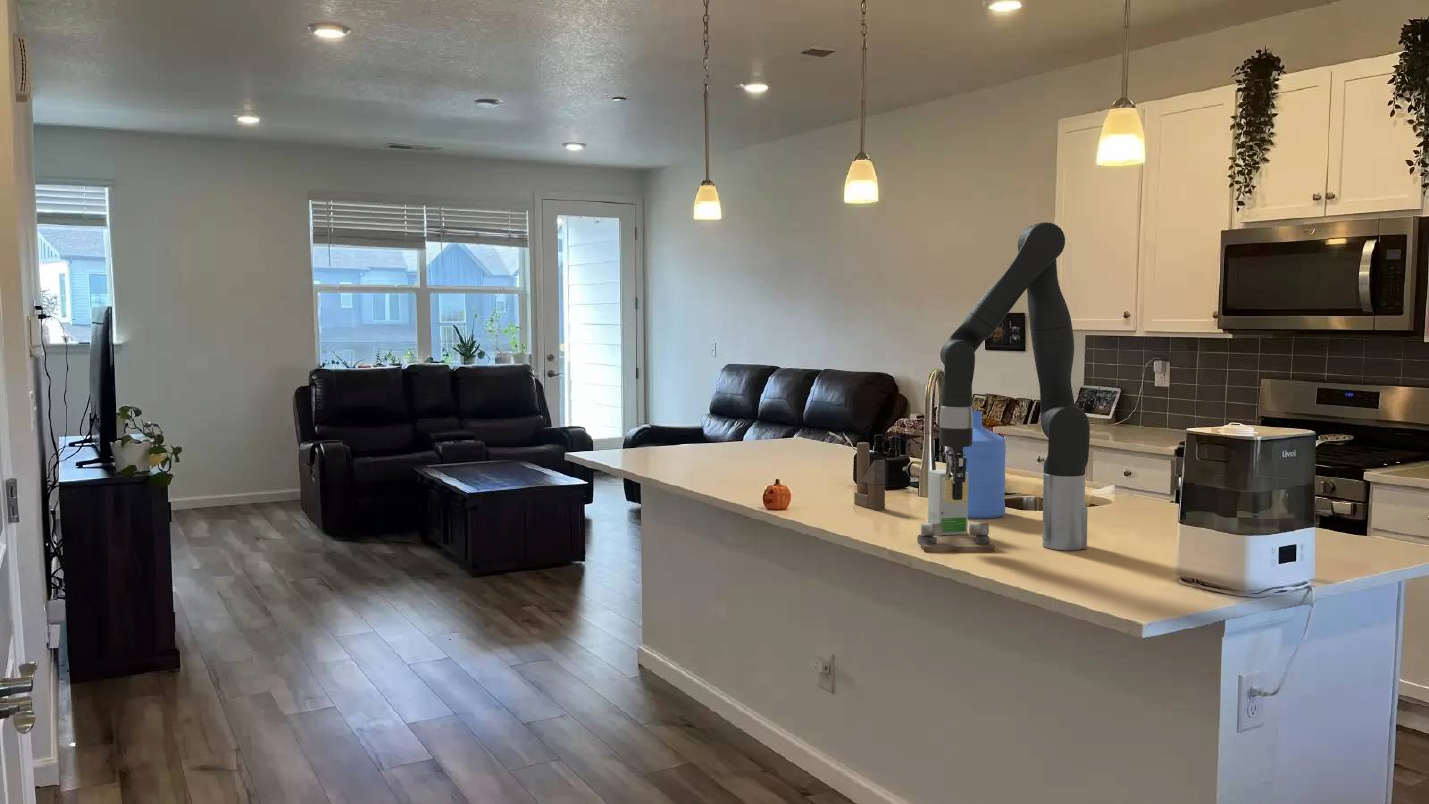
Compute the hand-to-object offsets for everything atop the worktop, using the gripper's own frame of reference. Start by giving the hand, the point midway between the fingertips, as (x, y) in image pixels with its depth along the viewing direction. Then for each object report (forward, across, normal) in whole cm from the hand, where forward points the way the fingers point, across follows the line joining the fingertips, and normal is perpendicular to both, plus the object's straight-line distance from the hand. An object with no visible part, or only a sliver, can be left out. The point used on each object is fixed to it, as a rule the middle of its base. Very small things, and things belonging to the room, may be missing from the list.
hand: (955, 497), depth 241 cm
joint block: (+1, 0, 0) cm, 1 cm away
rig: (+12, 0, 0) cm, 12 cm away
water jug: (+12, +40, -13) cm, 44 cm away
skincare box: (+12, +16, -1) cm, 20 cm away
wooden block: (+12, +51, +15) cm, 54 cm away
